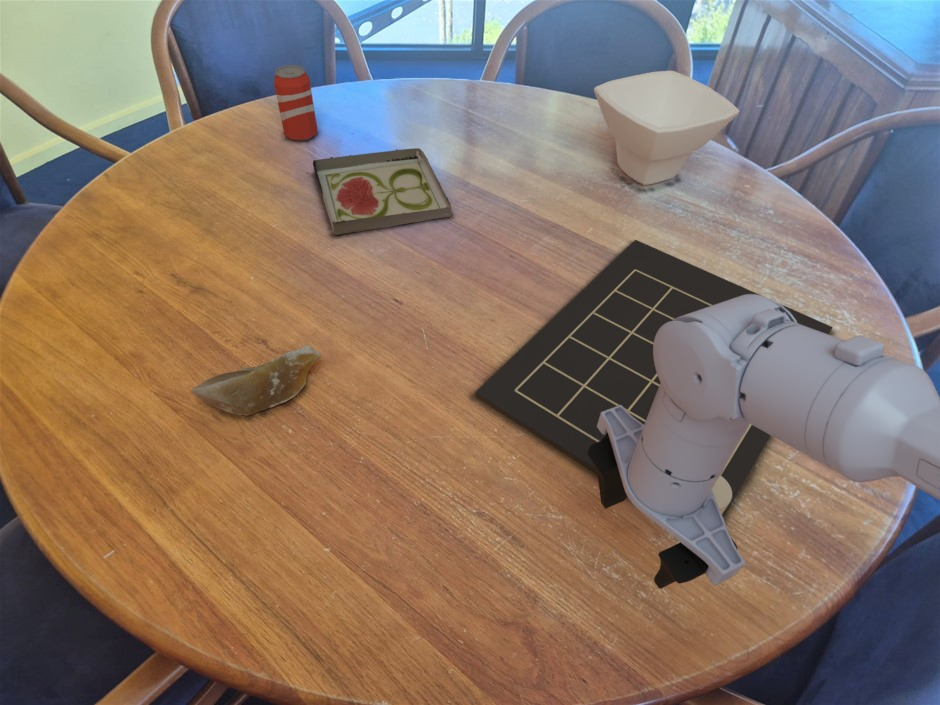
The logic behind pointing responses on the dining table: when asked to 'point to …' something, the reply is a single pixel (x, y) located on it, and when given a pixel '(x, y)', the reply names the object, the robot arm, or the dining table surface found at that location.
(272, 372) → the stone
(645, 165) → the bowl
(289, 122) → the beverage can
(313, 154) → the dining table surface
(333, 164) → the decorative tile
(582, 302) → the board
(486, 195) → the dining table surface
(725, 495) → the cylinder
